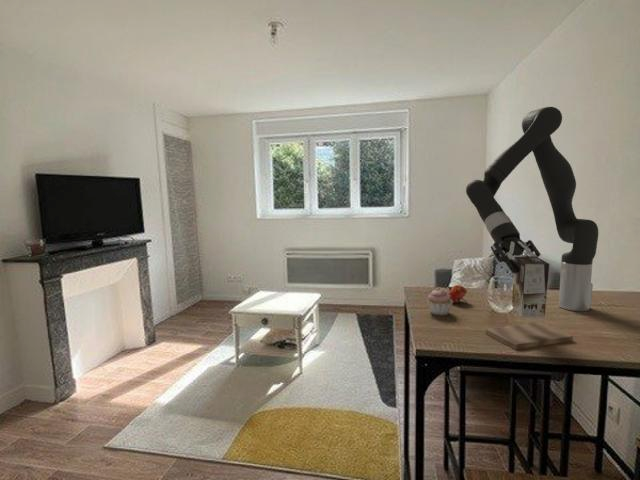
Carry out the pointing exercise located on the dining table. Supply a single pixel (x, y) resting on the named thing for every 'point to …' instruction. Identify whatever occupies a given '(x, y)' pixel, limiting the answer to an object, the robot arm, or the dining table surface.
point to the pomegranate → (456, 293)
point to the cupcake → (439, 302)
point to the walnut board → (528, 335)
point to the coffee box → (530, 287)
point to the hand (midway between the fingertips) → (527, 270)
